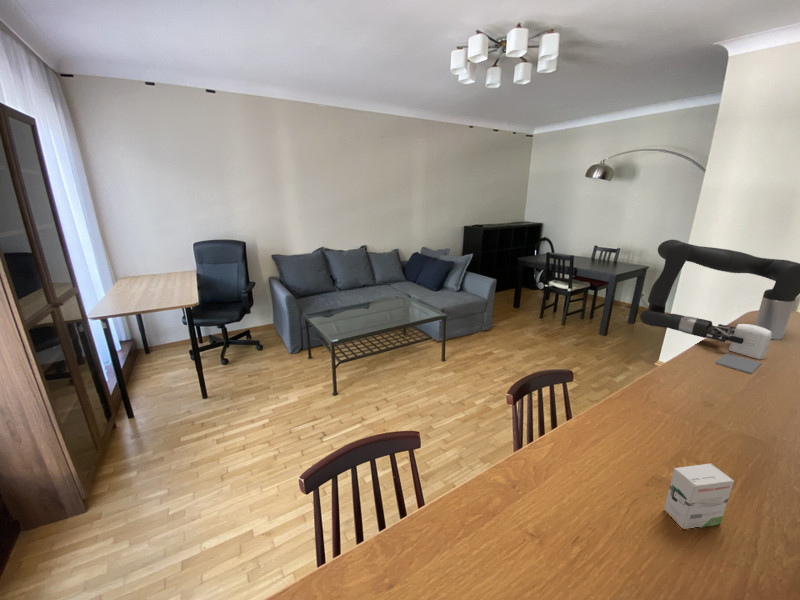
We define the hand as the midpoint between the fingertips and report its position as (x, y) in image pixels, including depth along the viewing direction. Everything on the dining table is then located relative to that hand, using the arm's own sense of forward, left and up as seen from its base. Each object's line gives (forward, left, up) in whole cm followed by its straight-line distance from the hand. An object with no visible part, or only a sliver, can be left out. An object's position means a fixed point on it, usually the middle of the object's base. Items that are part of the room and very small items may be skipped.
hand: (746, 338), depth 131 cm
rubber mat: (+12, +2, -7) cm, 14 cm away
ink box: (+101, +16, -7) cm, 102 cm away
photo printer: (0, +1, -7) cm, 7 cm away
